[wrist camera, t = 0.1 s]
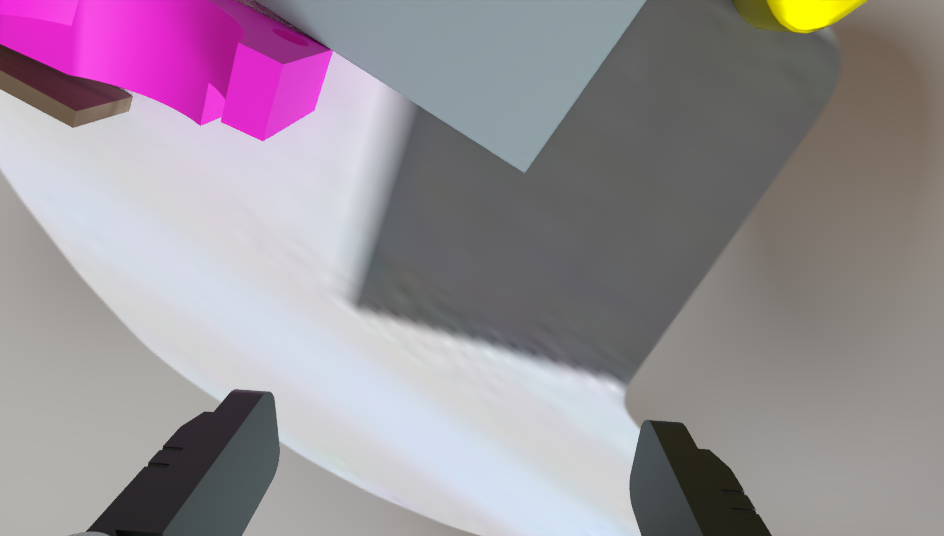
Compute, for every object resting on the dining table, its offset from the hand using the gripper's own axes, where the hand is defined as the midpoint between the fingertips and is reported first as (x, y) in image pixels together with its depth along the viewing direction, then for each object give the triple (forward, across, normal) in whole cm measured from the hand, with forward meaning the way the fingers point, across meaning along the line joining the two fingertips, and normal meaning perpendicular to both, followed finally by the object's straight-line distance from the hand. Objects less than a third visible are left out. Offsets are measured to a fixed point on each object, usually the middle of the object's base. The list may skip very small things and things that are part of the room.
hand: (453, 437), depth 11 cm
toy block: (+22, +17, -8) cm, 29 cm away
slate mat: (+21, +2, -12) cm, 24 cm away
